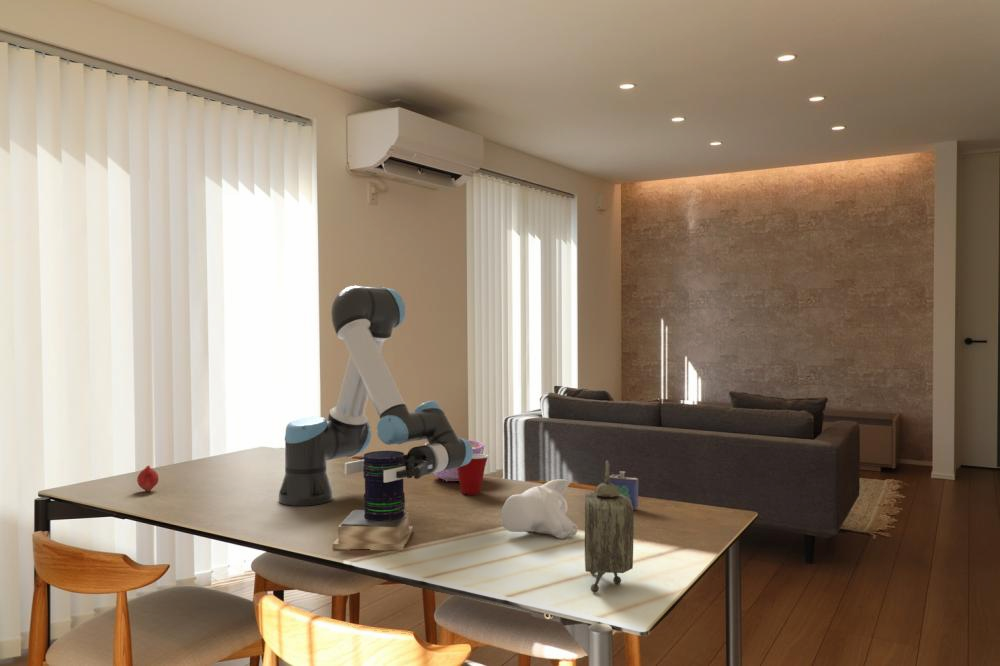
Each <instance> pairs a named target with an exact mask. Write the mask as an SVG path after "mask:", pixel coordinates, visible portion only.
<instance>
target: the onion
mask: <svg viewBox="0 0 1000 666" xmlns="http://www.w3.org/2000/svg"><path fill="white" fill-rule="evenodd" d="M136 481H137V485H138V487H140V488H141V489H142V490H144V491H145V492H150V491H151V490H153V489H154V488H155V486H156V485H157V484H158V483H159V475H158V472H157V471H156V470H154V469H153V468H151V466H150V464H148V465H147V466H146V467H144V468H143V469H142V470H141V471H140V472H139V474H138V475H137V479H136Z"/></svg>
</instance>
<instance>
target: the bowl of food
mask: <svg viewBox="0 0 1000 666" xmlns="http://www.w3.org/2000/svg"><path fill="white" fill-rule="evenodd" d="M466 440H467V439H466ZM467 441H468V442H470V444H471V446H472V449H473V454H484V450H485V445H486V444H485V443H483V442H482V441H477V440H469V439H468V440H467ZM427 444H429V443H428V442H425V444H424V445H427ZM434 476H436V477H437V478H440V479H441V480H442V479H443V480H442V481H444V480H447V481H446V482H448V481H459V477H458V470H457V468H456V469H455V468H454V469H449V470H444V471H440V472H436V474H435V475H434Z"/></svg>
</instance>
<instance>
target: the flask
mask: <svg viewBox="0 0 1000 666" xmlns="http://www.w3.org/2000/svg"><path fill="white" fill-rule="evenodd" d="M625 474H626V471H622V470H621V471H619V474H611V475H610V483H612V484H614V485H615V486H616V487H617V488H618V489H619V492H620V494H623V495H624V496H626V497H628V498H630V500H631V502H632V506H633V510H637V509H638V510H639V478H637V477H627V476H626V477H625ZM638 510H637V511H638Z"/></svg>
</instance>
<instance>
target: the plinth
mask: <svg viewBox="0 0 1000 666" xmlns="http://www.w3.org/2000/svg"><path fill="white" fill-rule="evenodd" d="M404 513H405V516H404V517H403V518H401V519H398V520H394V521H386V522H376V521H369V520H366V519H365V518H364V514H365V511H364V509H354V510H351V512H350V513H349V515H347V516H346V517H345V519H344V520H342V522H341V523H340V524H339V525H338V527H337V528H338V530H337V531H338V533H337V536H338V537H337V539H335V541H334V542H333V543H332V550H350V549H370V550H369V551H390V550H402V551H403V550H404V548H405V546H406V545H407V542H408V541H409V539H410V537H411V536H410V535H412V534H413V532H414V526H413V525H412V526H411V525H409V518H410V517H409V515H410V514H409V511H407V510H404ZM411 533H412V534H411ZM405 544H406V545H405Z"/></svg>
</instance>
